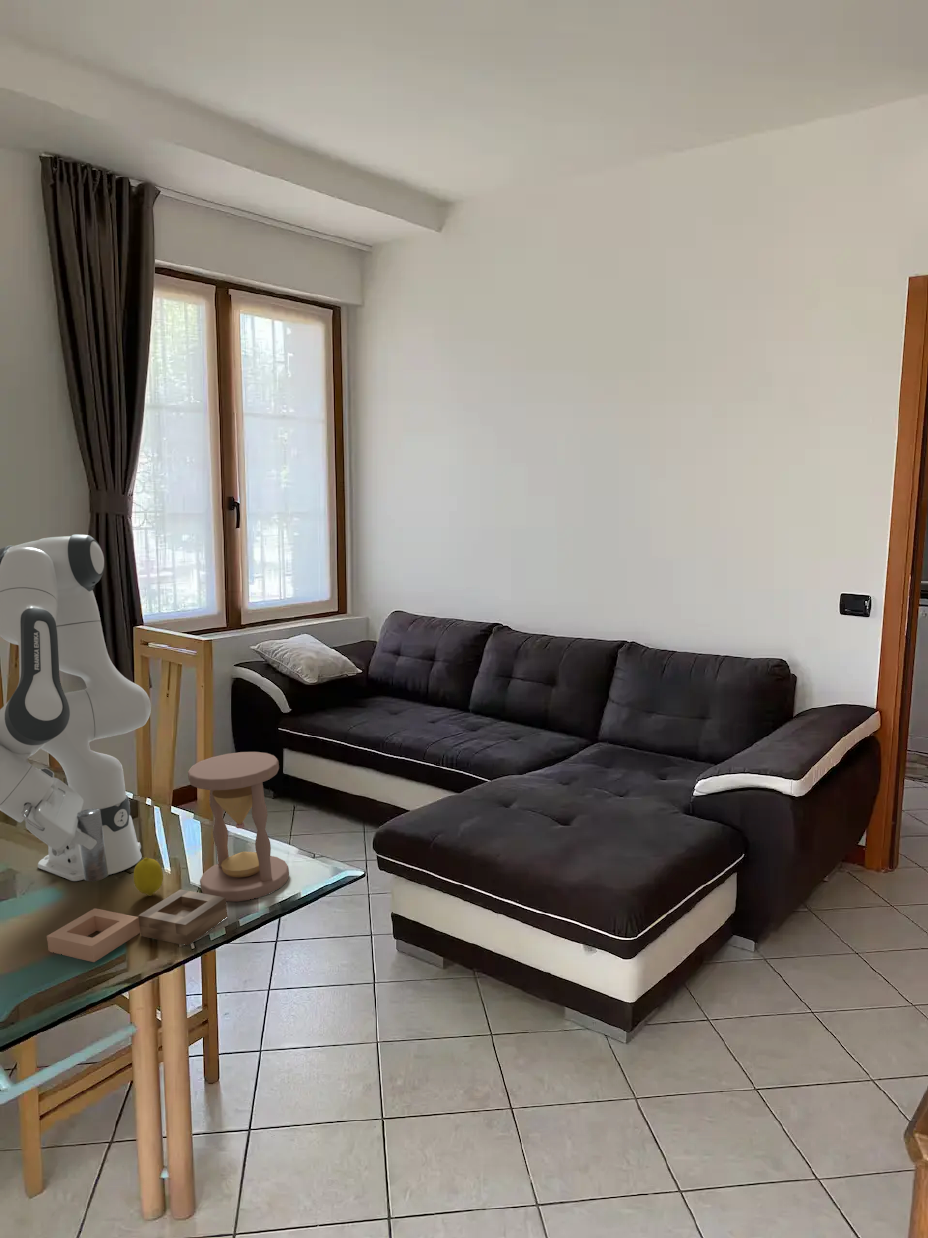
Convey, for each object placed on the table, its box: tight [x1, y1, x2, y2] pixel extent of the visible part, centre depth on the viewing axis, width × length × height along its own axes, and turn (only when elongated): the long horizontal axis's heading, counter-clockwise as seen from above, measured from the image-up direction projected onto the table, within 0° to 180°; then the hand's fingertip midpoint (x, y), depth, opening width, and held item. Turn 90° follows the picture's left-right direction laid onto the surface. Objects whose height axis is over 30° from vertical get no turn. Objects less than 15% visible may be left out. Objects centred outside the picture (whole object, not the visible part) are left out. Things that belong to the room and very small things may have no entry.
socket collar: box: [46, 907, 140, 963], centre depth 168 cm, size 11×11×3 cm
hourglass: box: [187, 751, 290, 903], centre depth 187 cm, size 18×18×25 cm
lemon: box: [133, 856, 164, 896], centre depth 185 cm, size 6×6×8 cm
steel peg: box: [77, 809, 109, 882], centre depth 166 cm, size 4×4×12 cm
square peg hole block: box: [137, 889, 229, 946], centre depth 172 cm, size 11×11×4 cm
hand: (95, 839), depth 166 cm, fingers closed on steel peg, 4 cm apart
